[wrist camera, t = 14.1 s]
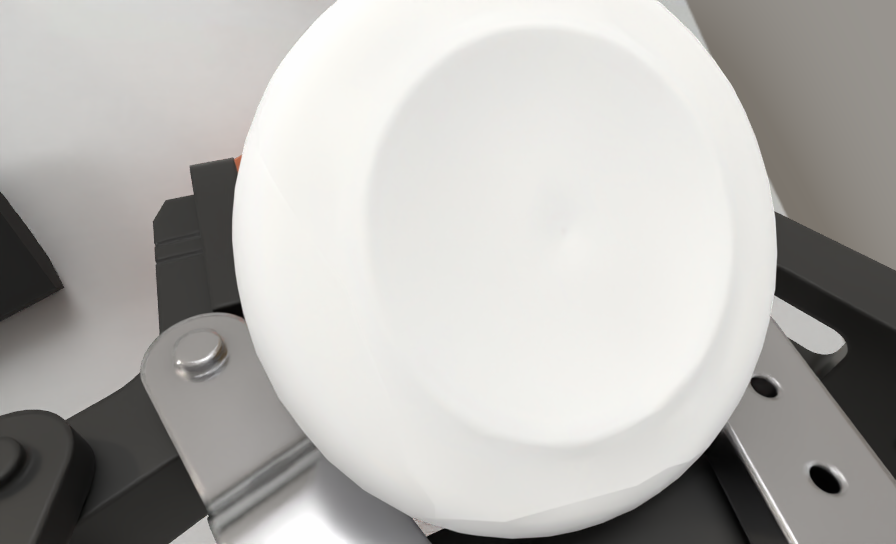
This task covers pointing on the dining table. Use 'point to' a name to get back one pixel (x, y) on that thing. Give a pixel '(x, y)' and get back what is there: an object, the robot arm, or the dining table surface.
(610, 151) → the sprinkles bottle
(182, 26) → the dining table surface
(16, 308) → the remote control
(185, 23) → the dining table surface
